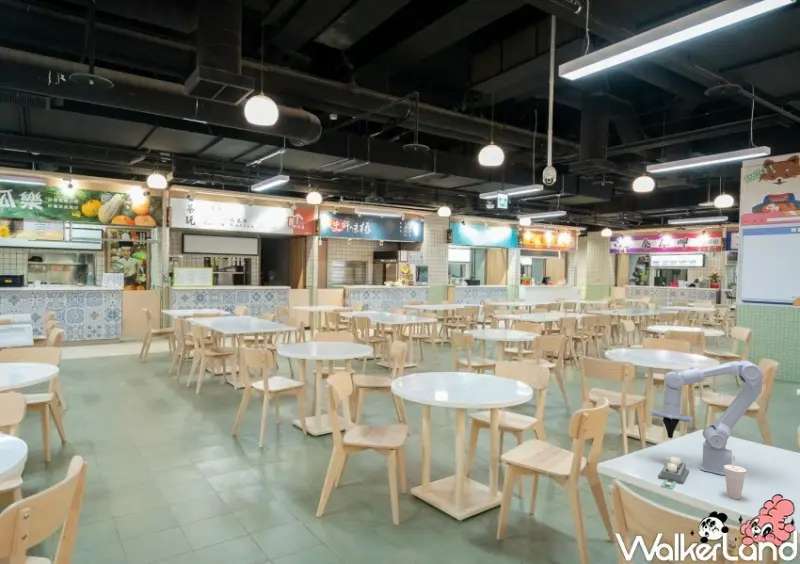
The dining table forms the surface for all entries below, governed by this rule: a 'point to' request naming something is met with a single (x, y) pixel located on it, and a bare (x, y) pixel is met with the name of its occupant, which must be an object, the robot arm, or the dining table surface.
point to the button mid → (675, 461)
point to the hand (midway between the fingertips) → (670, 437)
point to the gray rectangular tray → (674, 474)
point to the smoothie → (734, 480)
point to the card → (668, 484)
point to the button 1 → (672, 468)
